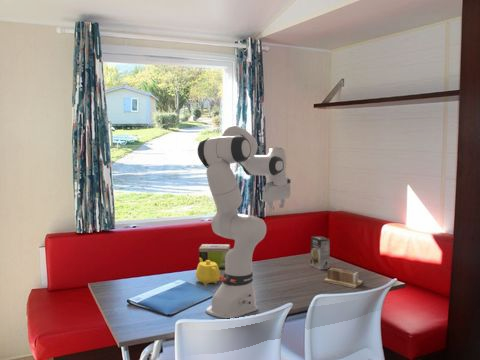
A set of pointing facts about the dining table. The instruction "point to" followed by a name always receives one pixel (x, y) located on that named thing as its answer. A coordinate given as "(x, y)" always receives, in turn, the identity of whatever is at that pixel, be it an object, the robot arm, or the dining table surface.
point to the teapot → (207, 272)
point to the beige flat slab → (343, 283)
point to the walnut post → (342, 275)
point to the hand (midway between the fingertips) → (276, 209)
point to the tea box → (215, 254)
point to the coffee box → (320, 252)
